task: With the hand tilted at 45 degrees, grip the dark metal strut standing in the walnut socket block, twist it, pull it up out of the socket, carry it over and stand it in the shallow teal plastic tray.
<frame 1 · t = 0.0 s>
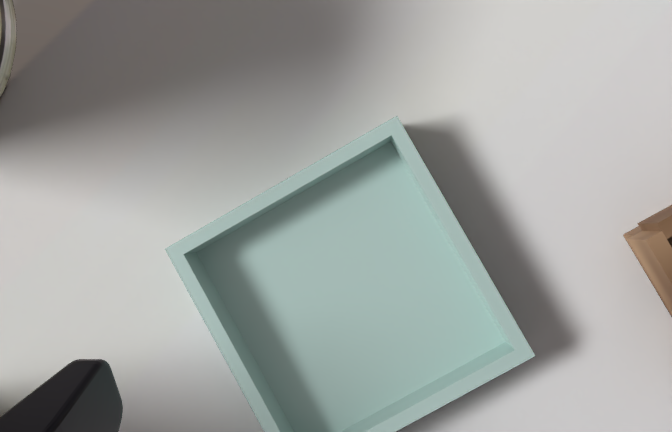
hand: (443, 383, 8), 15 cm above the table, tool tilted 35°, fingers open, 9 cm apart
tray: (348, 294, 23), on the table
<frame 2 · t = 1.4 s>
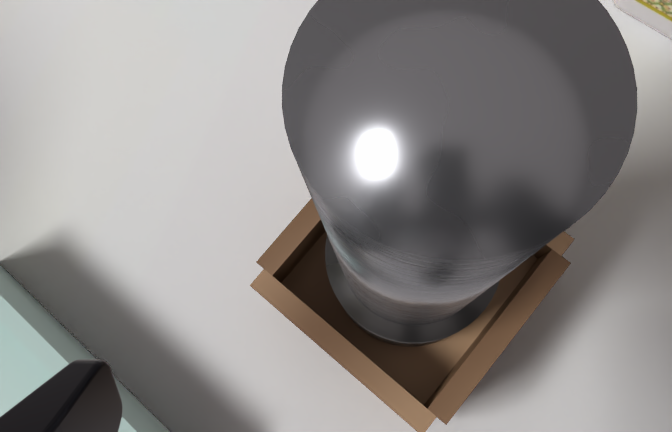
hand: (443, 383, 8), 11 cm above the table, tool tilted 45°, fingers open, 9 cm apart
socket block: (406, 276, 19), on the table
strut: (408, 271, 18), point 1 cm above the table, touching socket block
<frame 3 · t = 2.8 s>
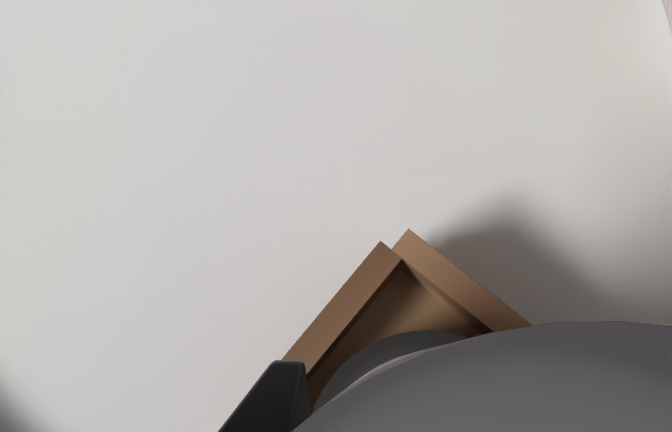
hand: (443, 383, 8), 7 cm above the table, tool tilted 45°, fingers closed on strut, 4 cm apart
socket block: (416, 431, 14), on the table
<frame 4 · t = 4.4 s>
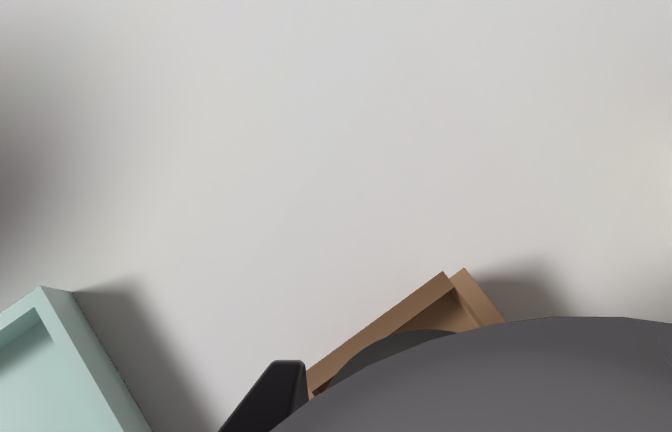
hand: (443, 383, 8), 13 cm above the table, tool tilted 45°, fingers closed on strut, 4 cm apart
socket block: (432, 407, 20), on the table
when the fingers open (8 cm above the table, at t = 6.4 s): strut drops 1 cm, resting on tray.
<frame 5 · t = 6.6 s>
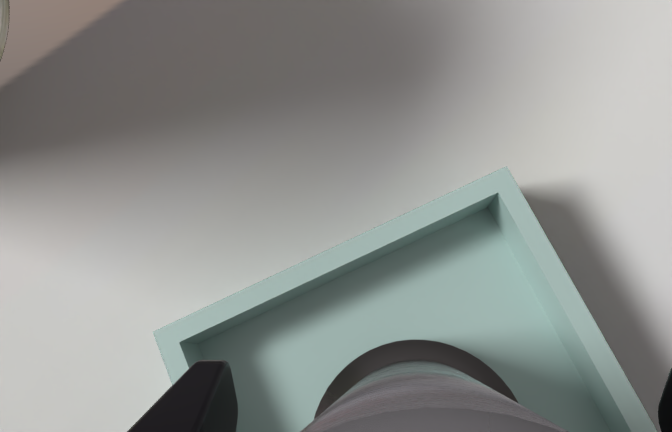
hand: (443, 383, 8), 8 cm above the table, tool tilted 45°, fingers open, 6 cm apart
tray: (414, 426, 15), on the table
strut: (416, 430, 15), point 1 cm above the table, touching tray
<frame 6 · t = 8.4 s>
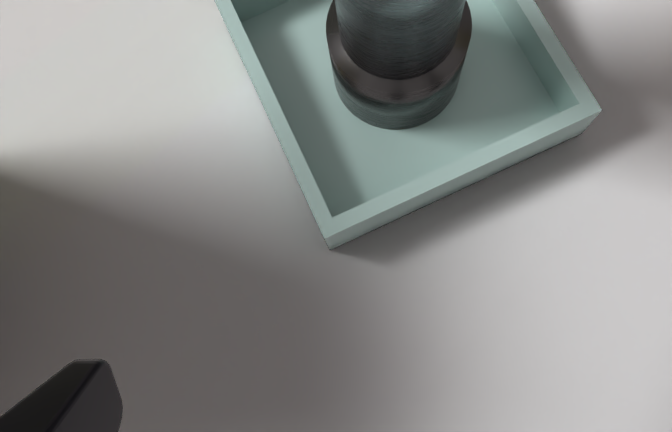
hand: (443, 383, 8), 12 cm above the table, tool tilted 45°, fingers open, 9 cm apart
tray: (395, 76, 21), on the table
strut: (396, 70, 21), point 1 cm above the table, touching tray
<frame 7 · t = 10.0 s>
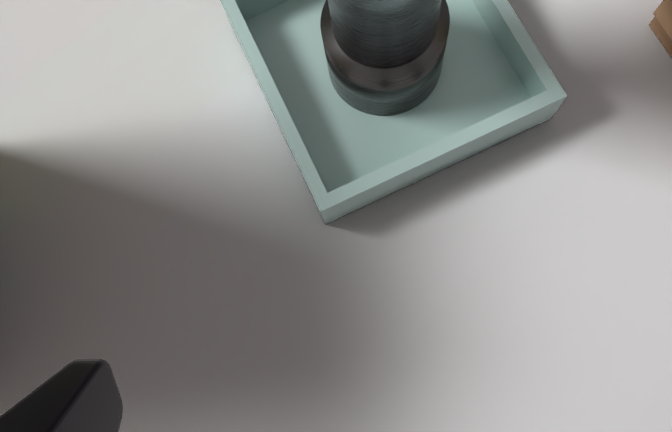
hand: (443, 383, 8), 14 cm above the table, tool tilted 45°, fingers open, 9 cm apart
tray: (384, 68, 24), on the table
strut: (384, 63, 23), point 1 cm above the table, touching tray
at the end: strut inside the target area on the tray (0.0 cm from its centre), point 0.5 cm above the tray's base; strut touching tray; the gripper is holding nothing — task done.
